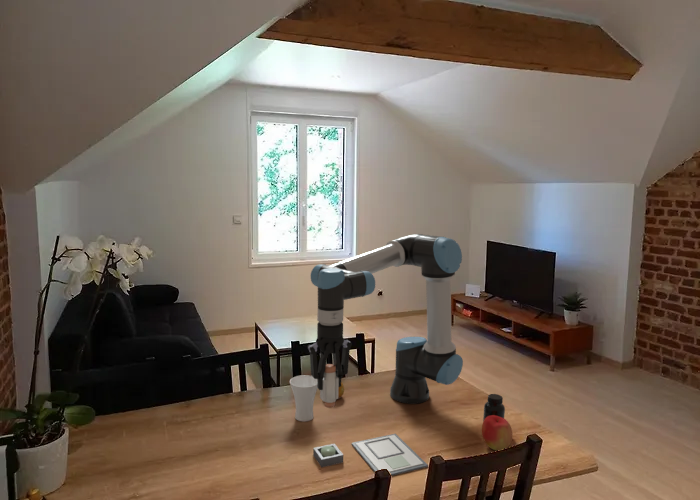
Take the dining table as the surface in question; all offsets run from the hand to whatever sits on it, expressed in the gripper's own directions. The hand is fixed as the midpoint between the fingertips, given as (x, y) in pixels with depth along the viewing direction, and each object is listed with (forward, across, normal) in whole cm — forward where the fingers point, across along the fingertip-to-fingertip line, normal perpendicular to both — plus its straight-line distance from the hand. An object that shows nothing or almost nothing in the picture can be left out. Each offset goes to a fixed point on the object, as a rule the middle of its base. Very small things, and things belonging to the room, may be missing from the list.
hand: (329, 398), depth 155 cm
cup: (+20, +2, +28) cm, 34 cm away
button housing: (+20, 0, 0) cm, 20 cm away
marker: (+2, 0, -1) cm, 2 cm away
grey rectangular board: (+20, +18, -5) cm, 27 cm away
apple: (+20, +52, -14) cm, 57 cm away
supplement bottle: (+20, +59, -4) cm, 62 cm away
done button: (+21, 0, 0) cm, 21 cm away
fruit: (+20, +18, +39) cm, 48 cm away
